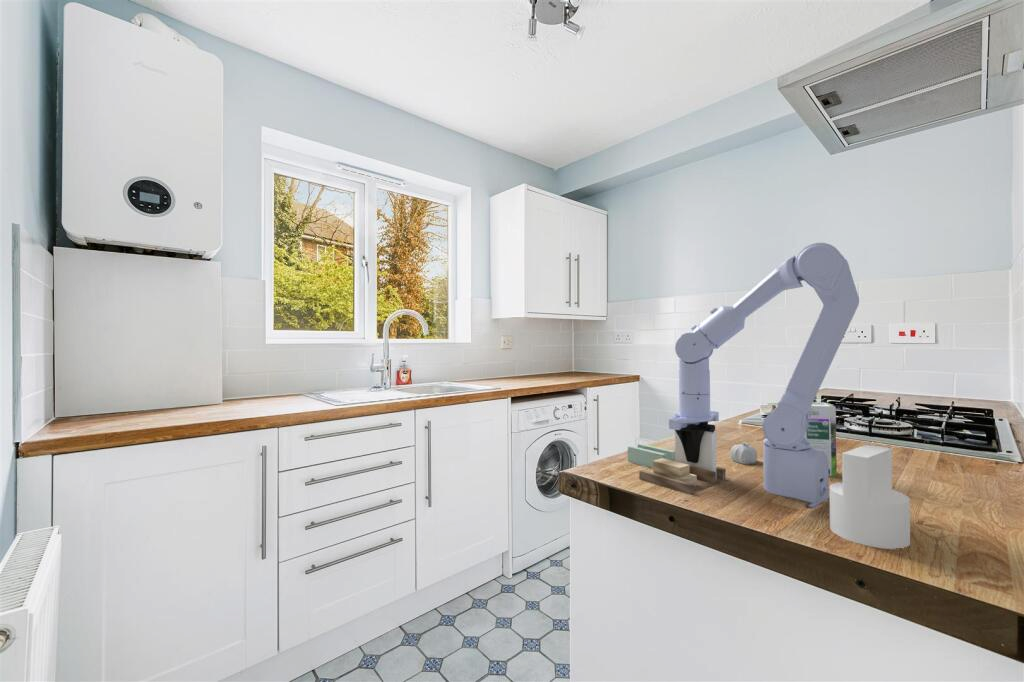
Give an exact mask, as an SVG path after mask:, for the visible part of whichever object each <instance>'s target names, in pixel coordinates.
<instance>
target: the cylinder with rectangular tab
mask: <svg viewBox="0 0 1024 682" xmlns="http://www.w3.org/2000/svg"><path fill="white" fill-rule="evenodd" d="M841 456H842V457H841V459H842V460H841V461H842V462H841V463H842V464H841V465H842V473H841V474H842V477H841V478H842V482H836V483H831V484H830V485H829V495H830V498H829V529H830V531H832V533H834V534H835V535H837V536H838V537H840V538H842V539H844V540H847V541H850V542H852V543H856V544H860V545H863V546H868V547H872V548H877V549H886V550H897V549H896V548H902V549H905V548H904V547H906V548H908V547H910V545H911V499H910V497H909V496H907V495H906V494H904V493H902V492H899V491H897V490H895V489H893V461H892V460H893V449H892V448H891V447H886V446H881V445H874V444H864V445H862V446H859V447H856V448H852V449H850V450H847V451H844V452H842V455H841ZM907 546H908V547H907ZM894 548H895V549H894Z"/></svg>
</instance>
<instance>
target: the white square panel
mask: <svg viewBox="0 0 1024 682" xmlns="http://www.w3.org/2000/svg"><path fill="white" fill-rule="evenodd" d="M674 448H675V449H674V451H675V461H676V462H680V463H684V464H688V465H690V466H693V467H697V468H701V469H705V470H709V471H714V472H716V467H717V433H716V432H715V431H714V432H708V431H705V432H704V434H703V437H702V440H701V444H700V453H699V460H698V463H693V462H688V461H687V460H686V456H685V452H684V449H683V445H682V443H681V440H680V438H679V436H678V434H677V433H676V431H675V430H674ZM716 479H717V478H716Z"/></svg>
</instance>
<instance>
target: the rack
mask: <svg viewBox="0 0 1024 682" xmlns="http://www.w3.org/2000/svg"><path fill="white" fill-rule="evenodd" d="M726 473H727V472H726V468H724V467H720V466H716V472H714V471H709V470H705V469H701V468H697V467H693V466H690V474H694V475H697V485H695V486H694V484H691V483H687V482H684V481H680V480H677V479H673V478H669V477H666V476H662V475H659V474H655V473H653V472H651V471H648V470H644V469H641V470H639V477H638V478H639V480H643V481H646V482H649V483H653V484H655V485H658V486H661V487H666V488H667V489H668V488H669V489H672V490H676V491H679V492H681V493H685V494H689V495H692V494H695V493H697V492H700V491H703V490H705V489H708V488H710V487H713V486H716V485H718V484H720V483H724V482H726V481H729V480H731V479H732V477H728V476H727V475H726ZM716 478H717V479H716Z"/></svg>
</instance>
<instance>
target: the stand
mask: <svg viewBox="0 0 1024 682" xmlns="http://www.w3.org/2000/svg"><path fill="white" fill-rule="evenodd" d="M661 458H663V459H667V460H672V461H675V450H673V449H672V450H671V449H668V448H663V447H659V446H654V445H649V444H645V443H638V444H637V446H634V445H629V446H627V462H629V463H633V464H635V465H636V464H637V465H639V466H643V467H648V468H652V469H653V461H654V460H657V459H661Z"/></svg>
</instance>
